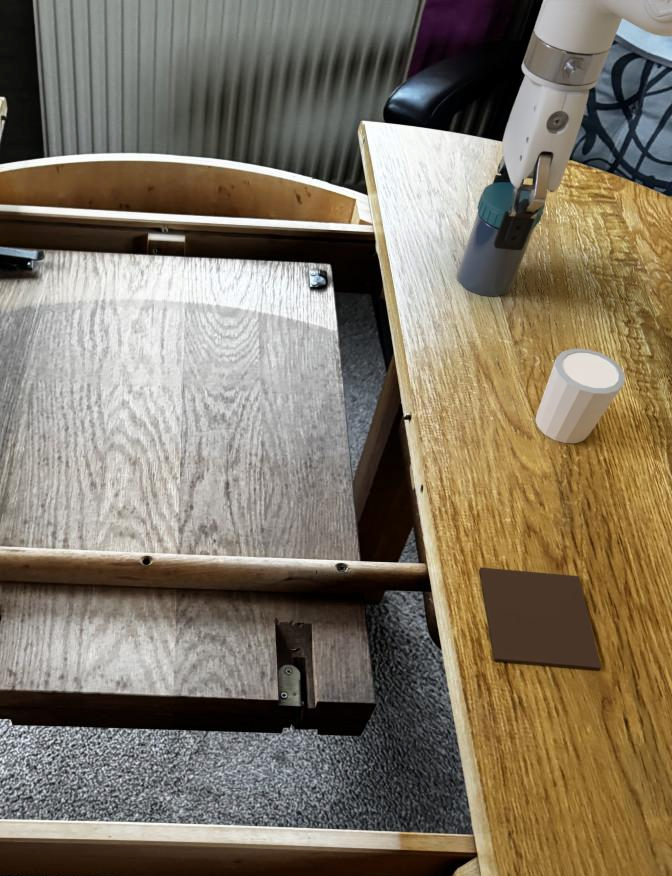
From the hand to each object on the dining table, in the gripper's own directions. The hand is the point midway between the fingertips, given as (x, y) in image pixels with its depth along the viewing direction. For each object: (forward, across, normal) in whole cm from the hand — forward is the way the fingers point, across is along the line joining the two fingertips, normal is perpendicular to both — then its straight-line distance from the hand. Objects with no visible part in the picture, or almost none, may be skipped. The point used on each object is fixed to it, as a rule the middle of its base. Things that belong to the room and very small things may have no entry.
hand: (503, 228), depth 105 cm
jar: (+7, 0, 0) cm, 7 cm away
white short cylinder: (+7, -25, -5) cm, 26 cm away
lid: (-3, 0, 0) cm, 3 cm away
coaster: (+7, -51, +2) cm, 51 cm away
